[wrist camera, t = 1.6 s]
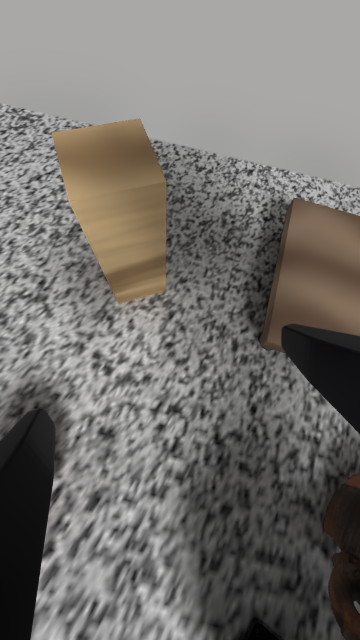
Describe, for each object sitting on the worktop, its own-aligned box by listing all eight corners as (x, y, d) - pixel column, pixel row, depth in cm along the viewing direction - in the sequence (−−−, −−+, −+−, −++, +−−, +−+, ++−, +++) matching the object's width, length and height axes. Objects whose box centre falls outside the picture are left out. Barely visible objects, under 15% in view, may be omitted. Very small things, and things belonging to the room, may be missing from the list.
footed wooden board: (372, 388, 23) (413, 386, 19) (250, 350, 23) (267, 341, 19) (376, 253, 28) (409, 230, 24) (277, 224, 28) (294, 197, 24)
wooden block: (166, 290, 25) (166, 181, 12) (118, 303, 24) (69, 201, 12) (152, 251, 26) (140, 118, 14) (107, 262, 25) (51, 132, 13)
